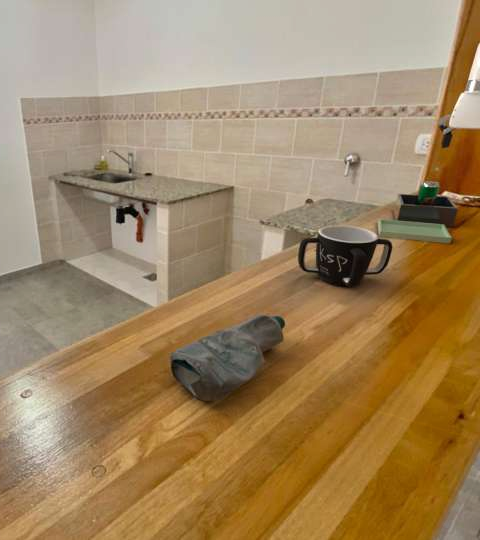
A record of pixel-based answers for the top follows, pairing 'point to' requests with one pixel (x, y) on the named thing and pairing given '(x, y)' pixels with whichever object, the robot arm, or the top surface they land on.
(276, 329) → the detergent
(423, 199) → the soda can
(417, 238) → the tray
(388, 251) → the mug
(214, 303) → the top surface
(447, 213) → the dark grey open box
